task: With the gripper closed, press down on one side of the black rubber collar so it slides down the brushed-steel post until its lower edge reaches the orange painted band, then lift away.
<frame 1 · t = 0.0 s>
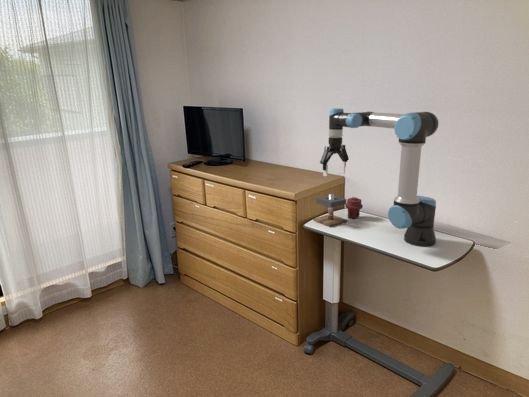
hand: (334, 174, 230), 28 cm above the table, fingers open, 13 cm apart
collar: (331, 201, 233), point 12 cm above the table, slide at 0.0 cm
post: (331, 206, 234), on the base, point 9 cm above the table
mechanical component: (353, 218, 243), on the table
base: (330, 221, 236), on the table
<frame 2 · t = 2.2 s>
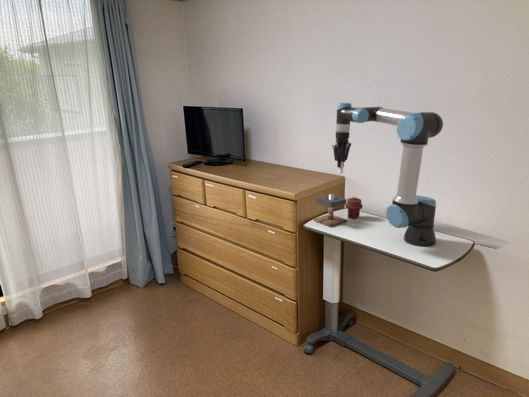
hand: (340, 172, 231), 29 cm above the table, fingers closed
nothing on the table moved.
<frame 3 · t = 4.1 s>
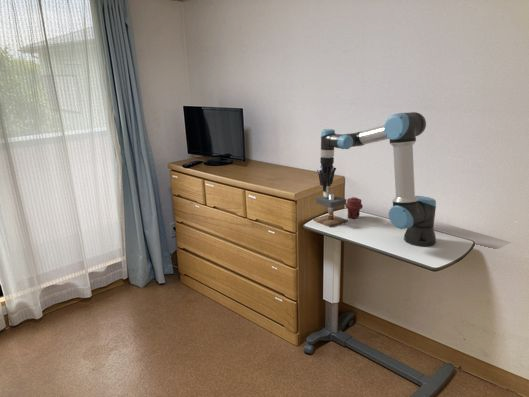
hand: (325, 196, 236), 14 cm above the table, fingers closed
collar: (331, 201, 233), point 12 cm above the table, slide at 0.1 cm, touching gripper
everything else where it was.
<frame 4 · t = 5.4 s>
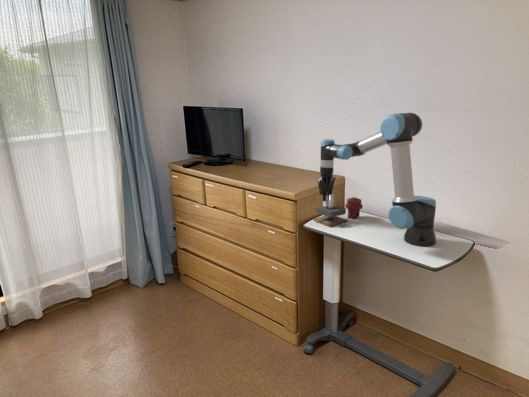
hand: (325, 206, 238), 8 cm above the table, fingers closed
collar: (330, 210, 234), point 7 cm above the table, slide at 5.8 cm, touching gripper
everything else where it was.
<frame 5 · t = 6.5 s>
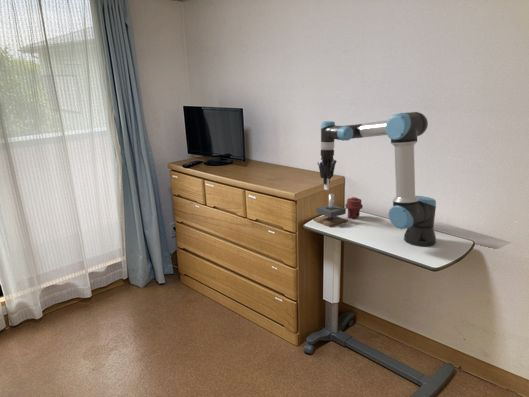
hand: (326, 189, 234), 19 cm above the table, fingers closed
collar: (330, 210, 234), point 7 cm above the table, slide at 5.8 cm
everything else where it was.
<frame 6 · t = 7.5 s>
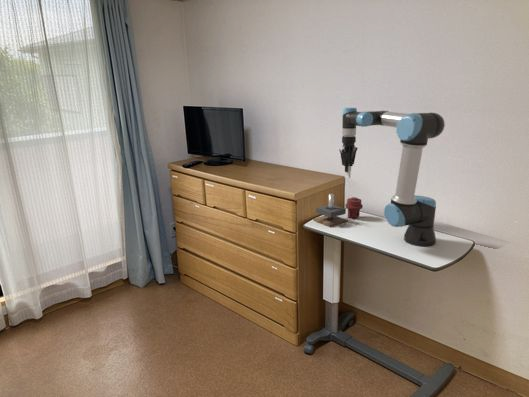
hand: (347, 177, 232), 26 cm above the table, fingers closed
nothing on the table moved.
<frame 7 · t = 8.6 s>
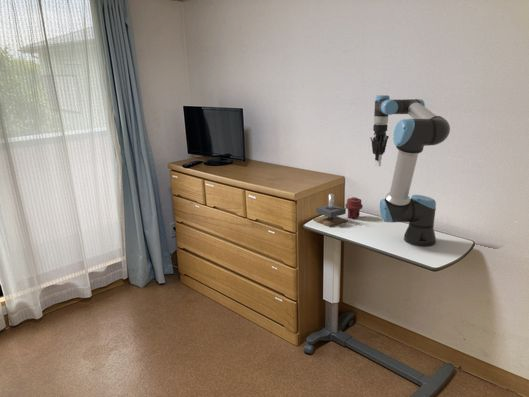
hand: (377, 165, 230), 32 cm above the table, fingers closed
nothing on the table moved.
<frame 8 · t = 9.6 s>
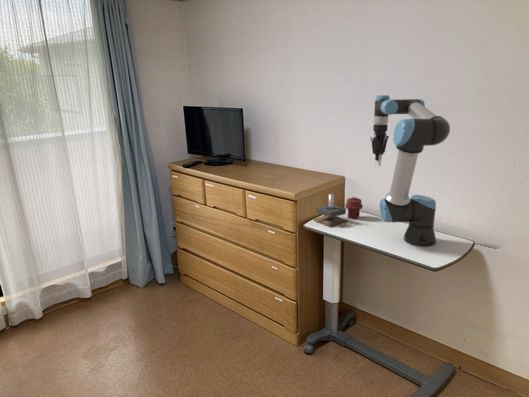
hand: (377, 165, 230), 32 cm above the table, fingers closed
nothing on the table moved.
at the end: collar slide at 5.8 cm; collar point 6.7 cm above the table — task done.
